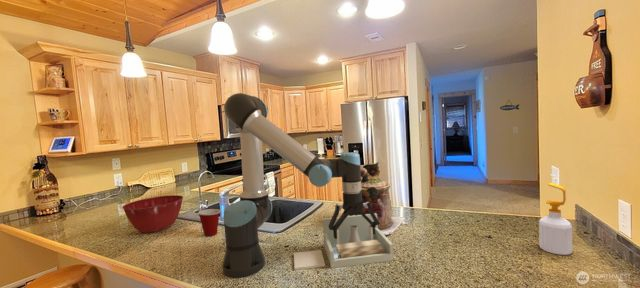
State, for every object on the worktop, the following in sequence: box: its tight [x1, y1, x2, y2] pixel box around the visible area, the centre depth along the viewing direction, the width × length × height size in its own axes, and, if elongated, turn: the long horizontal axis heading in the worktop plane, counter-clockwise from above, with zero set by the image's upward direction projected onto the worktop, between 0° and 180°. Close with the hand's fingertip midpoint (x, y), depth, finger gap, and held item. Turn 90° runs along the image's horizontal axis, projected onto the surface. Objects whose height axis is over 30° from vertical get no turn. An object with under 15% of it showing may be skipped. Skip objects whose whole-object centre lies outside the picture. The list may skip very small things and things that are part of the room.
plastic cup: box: [197, 208, 222, 237], centre depth 135 cm, size 11×11×12 cm
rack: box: [322, 213, 395, 269], centre depth 105 cm, size 23×18×12 cm
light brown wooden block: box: [335, 240, 384, 259], centre depth 101 cm, size 17×4×6 cm, turn 99°
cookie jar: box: [358, 161, 406, 236], centre depth 133 cm, size 25×25×32 cm
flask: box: [349, 225, 361, 243], centre depth 107 cm, size 7×7×10 cm
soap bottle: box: [538, 182, 573, 256], centre depth 98 cm, size 9×9×25 cm
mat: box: [293, 249, 326, 271], centre depth 102 cm, size 11×12×1 cm
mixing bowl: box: [121, 194, 184, 234], centre depth 149 cm, size 28×28×16 cm
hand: (354, 244), depth 108 cm, fingers open, 13 cm apart
